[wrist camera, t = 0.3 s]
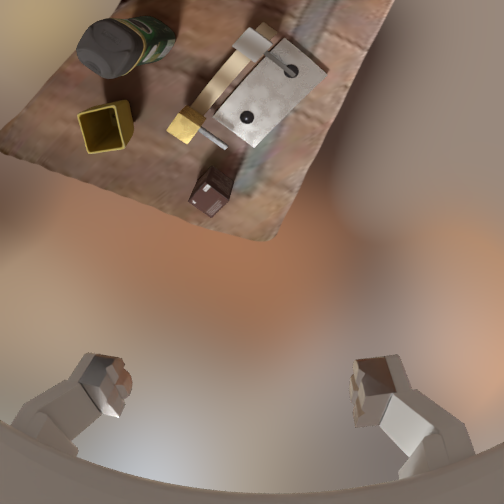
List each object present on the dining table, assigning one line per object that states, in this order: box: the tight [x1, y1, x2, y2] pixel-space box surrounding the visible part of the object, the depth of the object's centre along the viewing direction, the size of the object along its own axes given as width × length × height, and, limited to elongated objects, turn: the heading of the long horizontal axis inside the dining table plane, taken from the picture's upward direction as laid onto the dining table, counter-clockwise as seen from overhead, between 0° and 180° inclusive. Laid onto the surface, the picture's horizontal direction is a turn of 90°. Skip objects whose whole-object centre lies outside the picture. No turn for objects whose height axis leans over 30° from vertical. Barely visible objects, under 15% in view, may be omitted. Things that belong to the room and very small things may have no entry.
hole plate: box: [213, 38, 327, 148], centre depth 47 cm, size 20×10×1 cm, turn 140°
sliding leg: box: [166, 105, 228, 150], centre depth 49 cm, size 4×11×5 cm, turn 51°
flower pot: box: [77, 100, 134, 154], centre depth 48 cm, size 9×9×9 cm
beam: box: [190, 22, 296, 116], centre depth 44 cm, size 24×11×8 cm, turn 141°
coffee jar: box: [76, 16, 175, 79], centre depth 34 cm, size 10×8×19 cm
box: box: [188, 166, 234, 218], centre depth 59 cm, size 6×6×7 cm
